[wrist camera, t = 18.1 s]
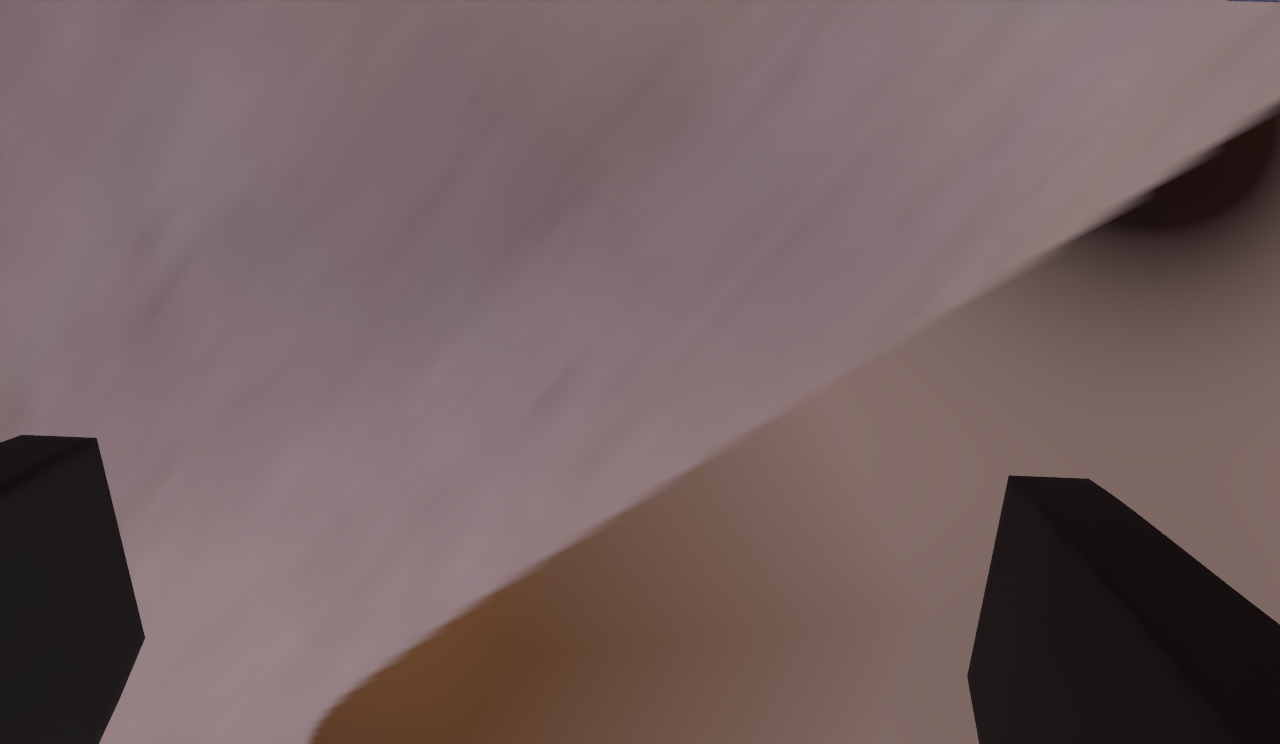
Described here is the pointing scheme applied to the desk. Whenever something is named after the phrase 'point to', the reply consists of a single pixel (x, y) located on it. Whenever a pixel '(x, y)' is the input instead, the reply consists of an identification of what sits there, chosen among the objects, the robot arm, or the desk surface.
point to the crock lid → (1258, 0)
